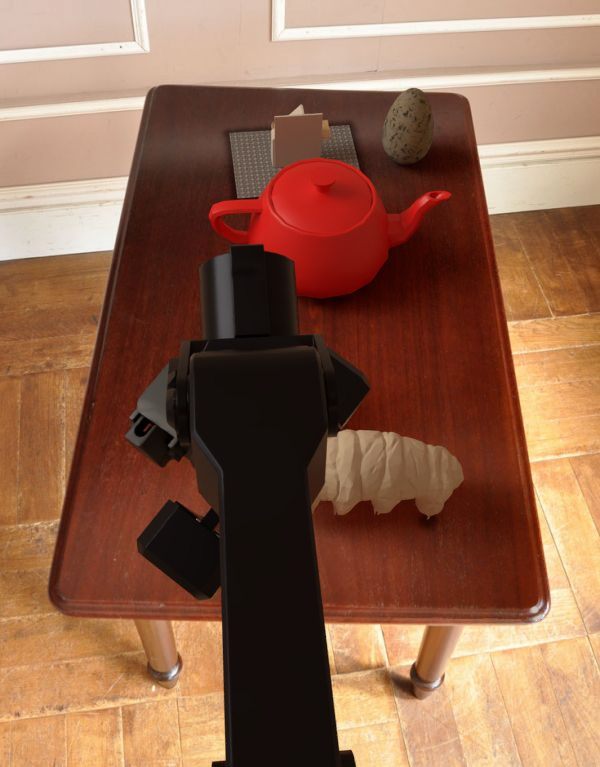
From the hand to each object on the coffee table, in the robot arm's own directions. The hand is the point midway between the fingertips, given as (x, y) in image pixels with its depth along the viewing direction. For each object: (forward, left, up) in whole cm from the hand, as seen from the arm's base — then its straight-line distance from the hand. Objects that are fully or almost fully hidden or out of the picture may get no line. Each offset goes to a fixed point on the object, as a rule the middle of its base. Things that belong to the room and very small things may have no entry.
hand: (256, 482), depth 66 cm
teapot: (+34, -3, -12) cm, 37 cm away
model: (+5, -8, -12) cm, 16 cm away
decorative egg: (+51, -11, -12) cm, 54 cm away
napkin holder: (+49, +2, -12) cm, 51 cm away
